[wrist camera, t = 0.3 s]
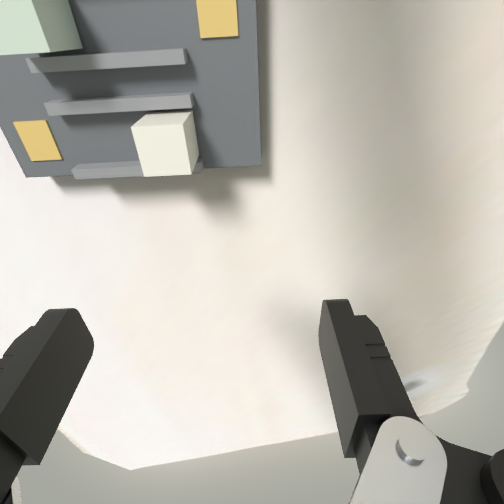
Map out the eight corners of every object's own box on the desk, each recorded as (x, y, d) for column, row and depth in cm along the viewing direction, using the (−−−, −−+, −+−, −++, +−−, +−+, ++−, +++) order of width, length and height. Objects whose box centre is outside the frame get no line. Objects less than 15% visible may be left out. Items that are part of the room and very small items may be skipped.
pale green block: (8, -15, 22) (-45, -24, 18) (62, -18, 22) (20, -29, 18) (33, 51, 25) (-8, 55, 21) (82, 48, 25) (50, 52, 20)
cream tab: (147, 112, 27) (130, 127, 23) (192, 110, 27) (182, 124, 23) (158, 156, 30) (144, 176, 26) (199, 154, 30) (191, 174, 26)
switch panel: (-50, -30, 24) (-103, -41, 21) (253, -50, 24) (254, -65, 20) (42, 166, 34) (17, 183, 30) (260, 155, 33) (261, 171, 29)
